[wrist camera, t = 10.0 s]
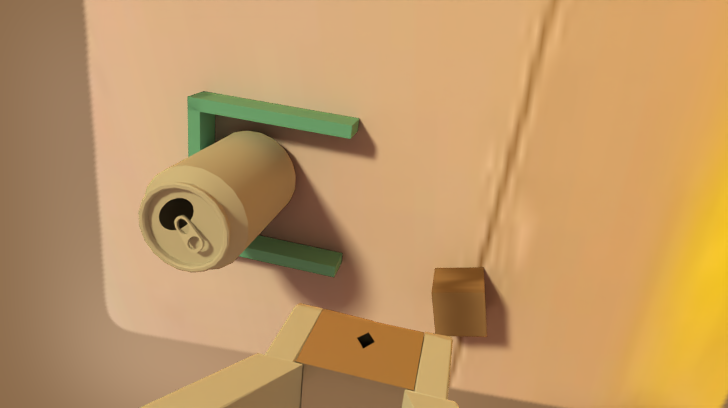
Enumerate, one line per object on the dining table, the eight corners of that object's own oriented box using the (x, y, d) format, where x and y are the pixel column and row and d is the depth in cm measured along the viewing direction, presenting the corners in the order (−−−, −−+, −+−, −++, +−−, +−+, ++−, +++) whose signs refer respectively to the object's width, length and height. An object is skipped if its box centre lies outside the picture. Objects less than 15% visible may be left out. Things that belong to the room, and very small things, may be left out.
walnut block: (483, 266, 41) (484, 292, 37) (485, 308, 42) (486, 336, 39) (435, 267, 42) (431, 292, 38) (438, 308, 43) (435, 335, 40)
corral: (359, 118, 38) (352, 125, 36) (341, 263, 43) (334, 277, 41) (203, 91, 40) (187, 96, 38) (204, 233, 45) (190, 245, 43)
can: (259, 109, 40) (178, 149, 29) (317, 182, 41) (260, 247, 30) (199, 160, 43) (104, 214, 32) (255, 227, 44) (183, 301, 33)
